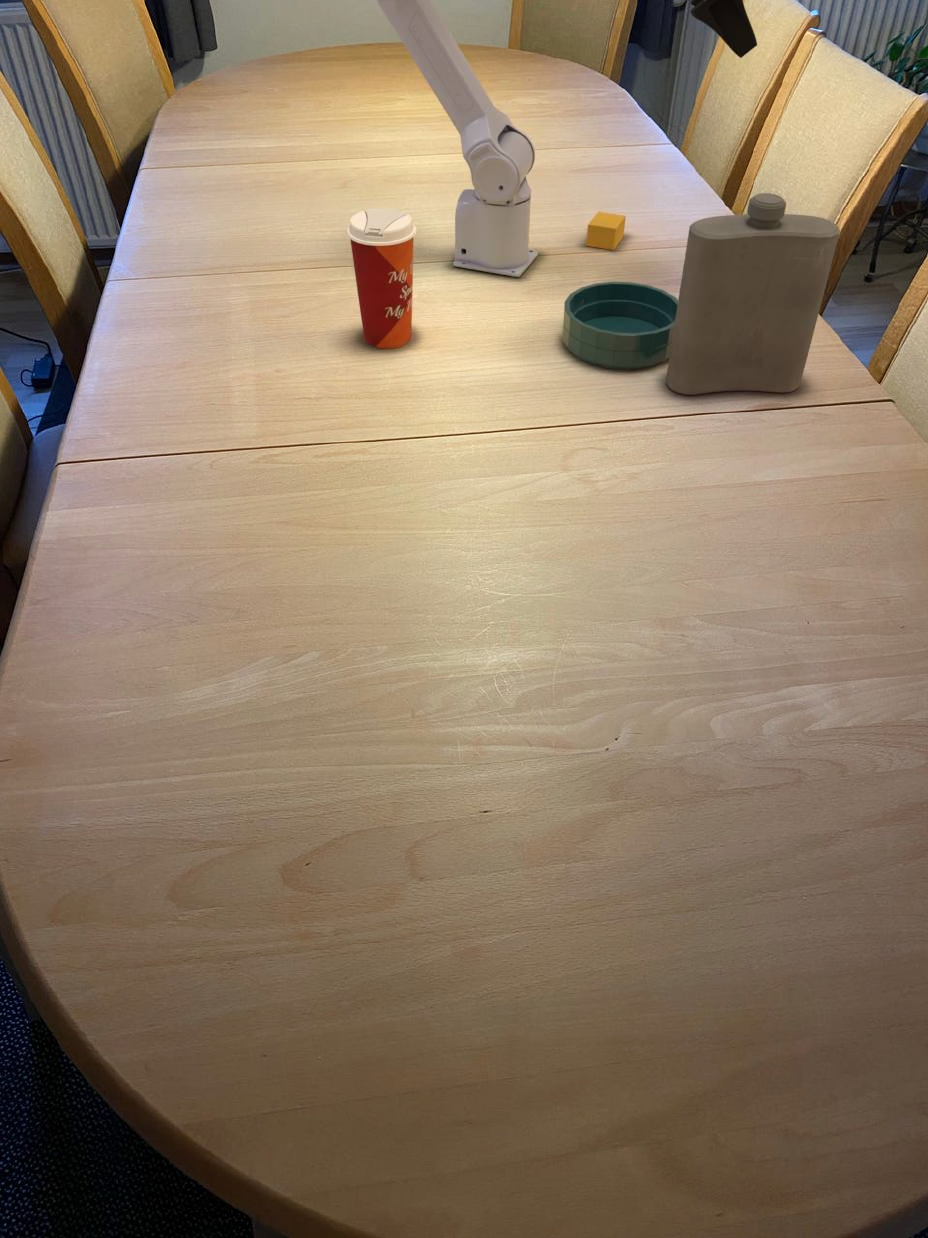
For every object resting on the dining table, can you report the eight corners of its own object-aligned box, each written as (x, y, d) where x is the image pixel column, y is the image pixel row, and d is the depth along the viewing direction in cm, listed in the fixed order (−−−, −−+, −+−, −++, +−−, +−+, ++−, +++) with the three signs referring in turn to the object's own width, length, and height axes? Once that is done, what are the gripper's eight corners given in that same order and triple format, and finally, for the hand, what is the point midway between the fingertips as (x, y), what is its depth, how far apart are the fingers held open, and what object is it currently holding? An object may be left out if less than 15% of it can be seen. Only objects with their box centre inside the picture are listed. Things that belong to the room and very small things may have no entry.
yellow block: (585, 245, 138) (587, 224, 136) (596, 232, 141) (598, 211, 139) (613, 250, 137) (616, 228, 135) (623, 236, 140) (625, 215, 138)
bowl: (546, 358, 114) (548, 322, 111) (581, 308, 124) (584, 273, 121) (662, 381, 111) (667, 344, 108) (689, 328, 120) (695, 292, 117)
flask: (790, 367, 113) (834, 186, 99) (805, 393, 109) (854, 208, 95) (659, 370, 112) (687, 189, 99) (670, 396, 108) (700, 211, 95)
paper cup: (411, 355, 115) (406, 235, 105) (347, 349, 116) (337, 230, 107) (426, 324, 121) (423, 208, 111) (365, 319, 122) (357, 203, 112)
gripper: (714, -96, 97) (785, 28, 102) (710, -104, 108) (774, 9, 113) (653, -41, 100) (725, 76, 106) (655, -54, 112) (720, 53, 117)
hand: (746, 45), depth 110 cm, fingers open, 7 cm apart
